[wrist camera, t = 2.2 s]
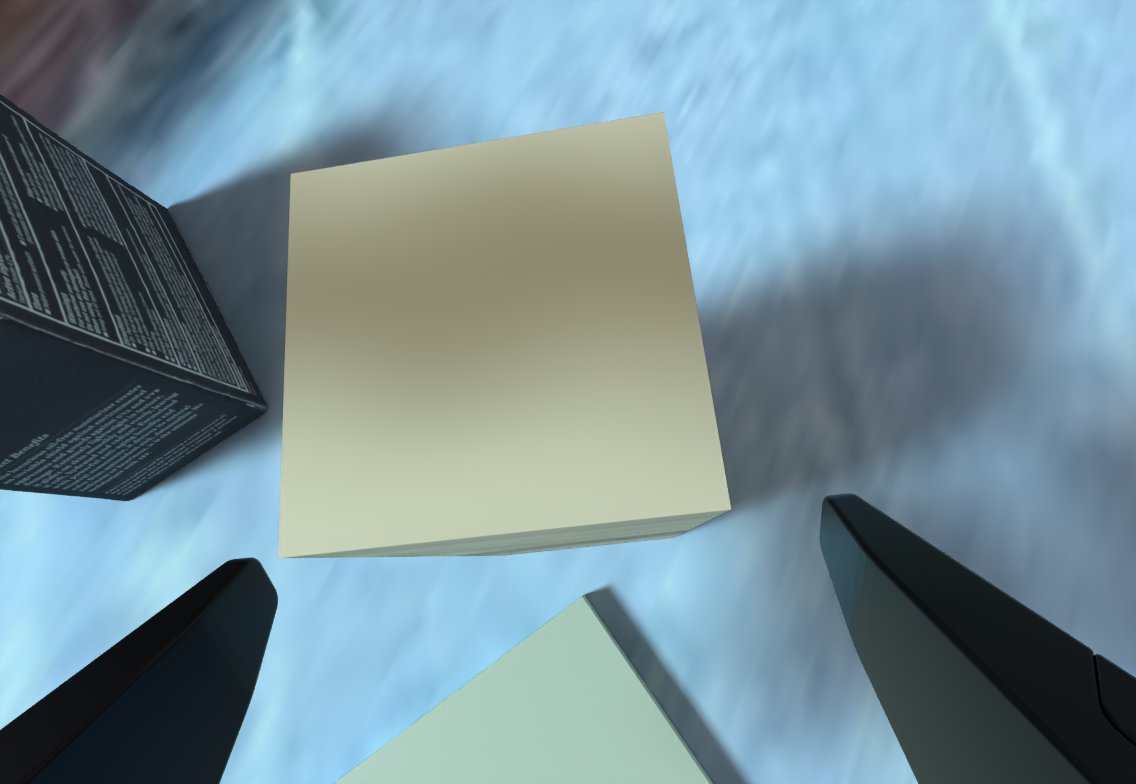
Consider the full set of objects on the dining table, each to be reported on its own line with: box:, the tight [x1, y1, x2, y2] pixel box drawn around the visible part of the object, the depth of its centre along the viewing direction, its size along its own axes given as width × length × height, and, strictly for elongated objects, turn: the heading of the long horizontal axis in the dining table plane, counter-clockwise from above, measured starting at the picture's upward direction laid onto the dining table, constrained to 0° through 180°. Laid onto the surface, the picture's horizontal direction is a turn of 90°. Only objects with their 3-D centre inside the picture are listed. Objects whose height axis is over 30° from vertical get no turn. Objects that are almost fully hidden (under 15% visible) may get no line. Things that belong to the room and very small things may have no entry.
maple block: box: [278, 112, 731, 558], centre depth 14 cm, size 6×6×12 cm
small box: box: [0, 95, 267, 501], centre depth 18 cm, size 11×6×10 cm, turn 34°
